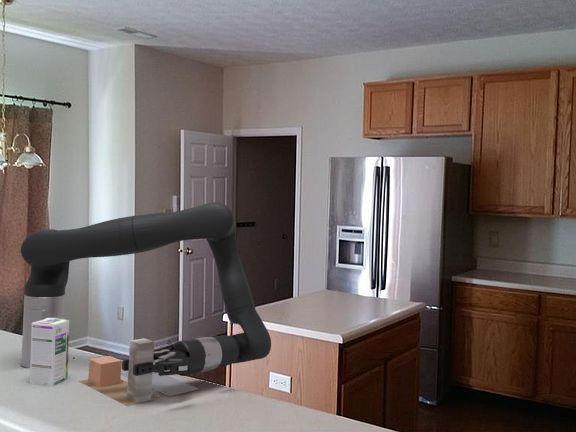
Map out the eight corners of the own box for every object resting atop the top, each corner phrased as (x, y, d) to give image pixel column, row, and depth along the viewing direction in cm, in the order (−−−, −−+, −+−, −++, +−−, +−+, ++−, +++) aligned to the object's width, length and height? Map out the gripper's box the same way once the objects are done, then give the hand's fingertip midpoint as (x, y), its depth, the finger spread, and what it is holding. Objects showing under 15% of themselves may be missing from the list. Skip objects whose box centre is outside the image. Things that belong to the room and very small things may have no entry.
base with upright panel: (78, 385, 131) (81, 327, 130) (111, 379, 136) (113, 323, 136) (126, 410, 117) (130, 345, 117) (160, 402, 123) (164, 340, 122)
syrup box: (52, 391, 126) (55, 323, 126) (28, 388, 127) (31, 321, 127) (67, 383, 132) (70, 319, 132) (44, 380, 133) (47, 316, 133)
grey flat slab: (118, 377, 138) (119, 367, 138) (148, 372, 144) (148, 361, 144) (168, 400, 124) (169, 388, 124) (199, 393, 130) (199, 382, 130)
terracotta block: (88, 381, 131) (89, 359, 131) (108, 377, 134) (109, 355, 134) (99, 387, 127) (100, 364, 127) (120, 383, 131) (121, 360, 131)
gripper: (178, 332, 136) (111, 342, 124) (217, 345, 126) (149, 357, 114) (176, 365, 136) (109, 378, 124) (216, 380, 127) (147, 395, 114)
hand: (128, 368), depth 119 cm, fingers closed on base with upright panel, 3 cm apart
